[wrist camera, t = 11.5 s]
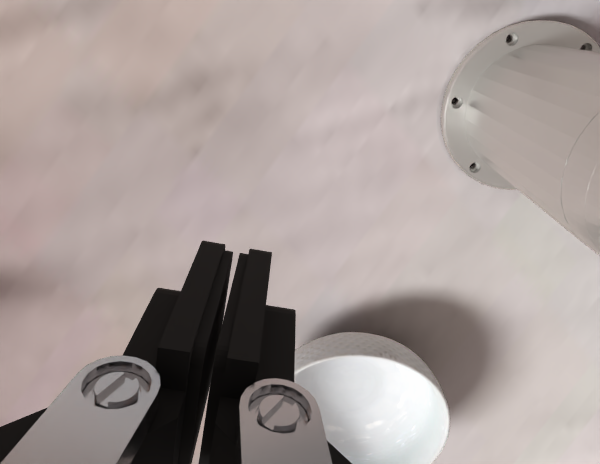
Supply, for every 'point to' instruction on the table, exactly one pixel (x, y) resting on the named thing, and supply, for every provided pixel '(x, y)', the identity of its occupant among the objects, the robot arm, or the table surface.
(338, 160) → the table surface
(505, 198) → the table surface
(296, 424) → the robot arm
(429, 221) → the table surface
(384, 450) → the cereal bowl
